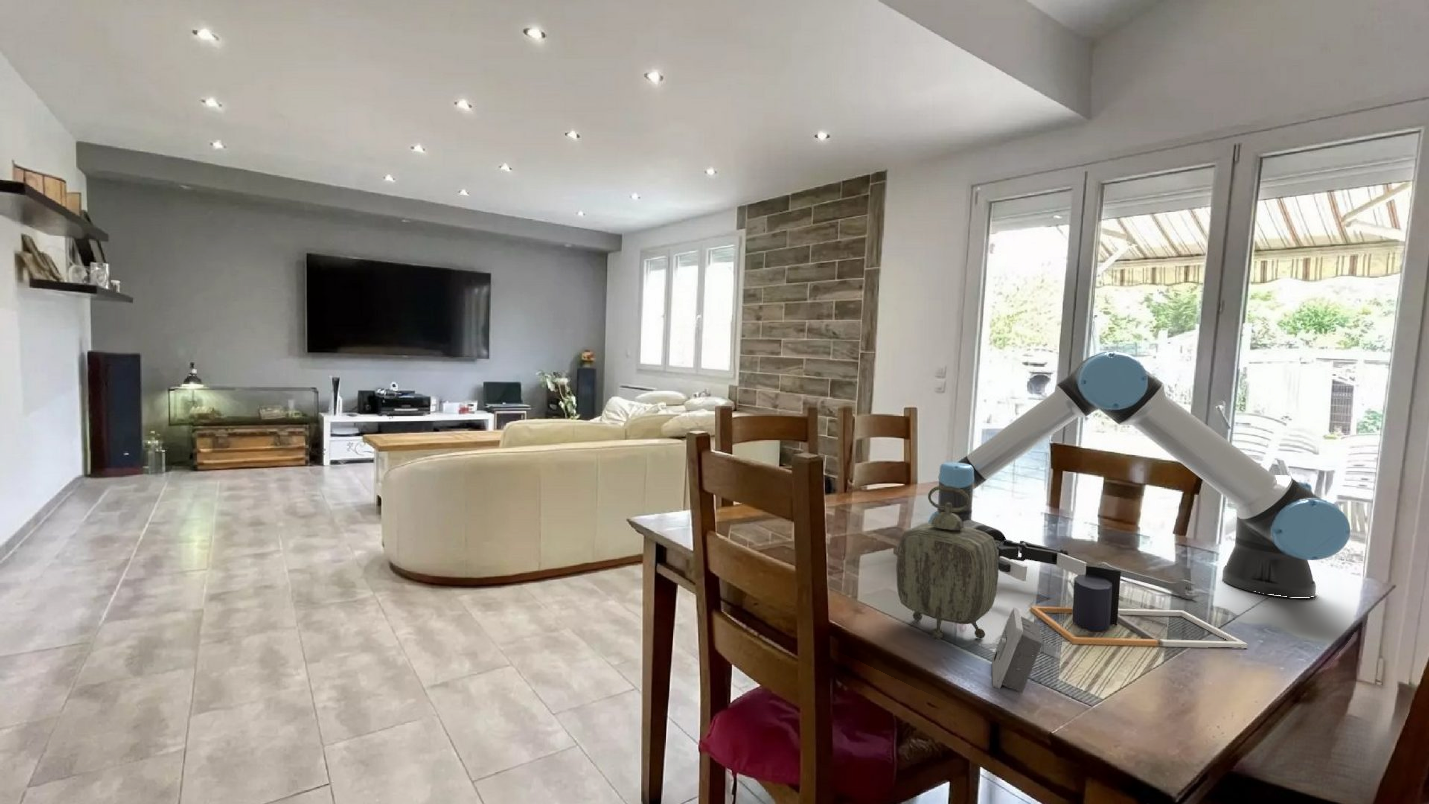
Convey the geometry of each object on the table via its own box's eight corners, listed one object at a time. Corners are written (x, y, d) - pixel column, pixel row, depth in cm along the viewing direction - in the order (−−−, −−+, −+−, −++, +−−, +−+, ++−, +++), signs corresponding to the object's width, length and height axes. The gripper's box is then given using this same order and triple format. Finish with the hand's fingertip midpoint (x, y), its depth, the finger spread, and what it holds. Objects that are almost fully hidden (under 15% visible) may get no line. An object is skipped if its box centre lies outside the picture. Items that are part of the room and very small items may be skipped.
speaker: (1083, 613, 119) (1087, 560, 118) (1118, 625, 115) (1122, 569, 113) (1065, 627, 115) (1068, 571, 113) (1100, 639, 110) (1105, 582, 109)
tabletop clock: (995, 639, 107) (1003, 489, 106) (976, 656, 100) (984, 496, 99) (911, 615, 117) (917, 477, 115) (889, 630, 110) (895, 483, 108)
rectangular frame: (1182, 614, 121) (1182, 610, 121) (1246, 648, 106) (1247, 643, 106) (1030, 610, 121) (1030, 606, 121) (1073, 643, 106) (1073, 639, 106)
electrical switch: (991, 662, 99) (1000, 603, 98) (1028, 672, 97) (1038, 612, 96) (992, 690, 90) (1002, 626, 89) (1033, 702, 88) (1044, 636, 87)
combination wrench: (1096, 559, 146) (1195, 584, 128) (1099, 558, 146) (1199, 583, 129) (1095, 575, 146) (1195, 603, 128) (1099, 574, 146) (1198, 602, 129)
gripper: (1027, 555, 146) (1107, 587, 125) (930, 561, 139) (997, 595, 119) (1029, 522, 145) (1110, 549, 125) (931, 526, 139) (999, 555, 118)
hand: (1055, 571), depth 122 cm, fingers open, 13 cm apart
